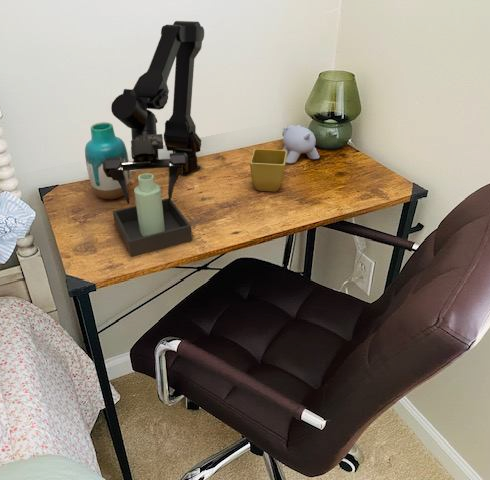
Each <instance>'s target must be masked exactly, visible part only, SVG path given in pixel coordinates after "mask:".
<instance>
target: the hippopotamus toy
mask: <svg viewBox="0 0 490 480" xmlns="http://www.w3.org/2000/svg"><path fill="white" fill-rule="evenodd" d="M281 135H282V137H283V138H282V142H283V145H284V146H283V147H282V150H287V156H286V164H295V163H296V162H297V161H298V159H299V158H300V156H301V154H305V155H306V157H308V159H309V160H318V159H320V154H319V152H318V150H317V148H316V147H315V146H316V142H317V140H316V136H315V134H314V132H312V131H311V130H310V129H308V128H307V127H304V126H302V125H301V124H298V125H294V124H289V125H287V126H284V127H282V133H281Z"/></svg>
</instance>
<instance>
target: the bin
mask: <svg viewBox="0 0 490 480" xmlns="http://www.w3.org/2000/svg"><path fill="white" fill-rule="evenodd" d="M162 207H163V216H164V226H165V231H163V232H160V233H156V234H152V235H148V236H142V235H141V233H140V229H139V222H138V215H137V208H136V205H133V206H129V207H125V208H120V209H115V210H112V215H113V220H114V226H115V228H116V230H117V232H118V234H119V236H120V238H121V240H122V242H123V244H124V246H125V247H126V249H127V252H128V253H129V255H130V258H132V257H137V256H141V255H144V254H148V253H151V252H155V251H159V250H162V249H167V248H171V247H174V246H178V245H183V244H185V243H189V242H192V241H193V234H192V225H191V224H190V223H189V222H188V220H187V218H186V217H185V216H184V215H183V213H182V212H181V210H180V209H179V208H178V206H177V205H176V204H175V202H173V200H172V199H171V200H170V201H169V197H167V198H164V199H163V198H162Z"/></svg>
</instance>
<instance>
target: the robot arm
mask: <svg viewBox="0 0 490 480" xmlns="http://www.w3.org/2000/svg"><path fill="white" fill-rule="evenodd" d="M204 39H205V29H204V26H202V25H201V23H200V21H195V20H194V21H190V20H189V21H187V20H185V21H184V20H175V21H174V22H173V23H172V24H165V25H163V26H162V27H161V30H160V38H159V41H158V43H157V46H156V48H155V51H154V54H153V56H152V59H151V61H150V64H149V66H148V69H147V71H146V72H144V73H143V74H141V75H140V76H139V77H138V79H137V81H136V83H134V87H133V88H132V89H131V88H124V89H123V92H122V93H121V94H119V95H118V96H116V97H115V98H114V100H113V101H112V102H111V107H110V110H111V113H112V115H113V116H114V117H115V118H116V119H117V120H119V122H121V123H122V124H123V125H125V126H126V127H127V128H129V129H131V130H130V131H131V140H130V153H131V155H130V156H131V159H132V161H129V162H122V160H121V157H116V158H105V159H104V161H103V170H104V172H105V174H106V176H107V177H112V179H113V180H117V181H118V182H119V184H120V186H121V188H122V191H123V193H124V195H123V196H124V199H125V201H126V203H127V204H128V205H130V193H129V190H128V188H127V182H126V177H125V175H124V171H127V170H130V171H138V170H140V171H141V170H153V169H166V168H168V186H167V187H168V188H167V189H168V190H167V198H169V201H170V200H172V198H173V197H172V196H173V194H174V189H175V186H176V183H177V181H178V179H179V176H188V175H190V174H192V173H195V172H196V171H199V170H200V169H201V168H202V167H201V165H198V156H197V153H199V152H201V148H202V139H201V138H200V136H199V135H198V134H197V132H196V130H197V128H196V123H195V121H194V120H193V118H192V115H191V113H192V98H193V85H194V84H193V83H194V70H195V69H194V68H195V59H196V58H197V56H198V55H199V53H200V51H201V50H202V47H203V41H204ZM174 63H175V69H174V70H175V71H174V87H173V101H172V102H173V103H172V114H171V115H170V117H169V119H168V120H166V121H164V132H163V133H159V134H158V133H157V132H158V131H157V124H158V119H157V117H156V114H155V113H154V112H153V111H152V110H157V111H159V110H163V109H164V108H165V106H166V105H167V103H168V100H169V94H170V93H169V92H170V90H169V86H168V84H167V83H168V79H169V77H170V74H171V71H172V68H173V66H174ZM164 144H165V145H164ZM164 146H165V148H166V151H168V152H169V151H170V152H171V153H169V158H160V159H159V157H160V156H159V150H164Z"/></svg>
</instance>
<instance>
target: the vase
mask: <svg viewBox="0 0 490 480" xmlns="http://www.w3.org/2000/svg"><path fill="white" fill-rule="evenodd" d="M90 134H91V139H90V140H89V141H88V142H87V143H86V144H85V147H84V157H85V164H86V170H87V175H88V178H89V183H90V187H91V188H92V190H93V192H94V193H95V194H96V195H97V196H98V197H99V198H101V199H105V200H116V199H120V198H121V197H123V196H124V193H123V191H122V188H121V186H120V184H119V182H118V181H117V180H113V179H112V177H107V176H106V174H105V172H104V170H103V161H104V159H105V158H116V157H121V160H122V162H130V159H129V155H128V149H127V147H126V144H125V142H124V141H123V139H121V137H118V136H116V134H115V130H114V126H113V124H112V123H110V122H105V121H103V122H96V123H93V124H92V125H91V126H90ZM124 175H125V177H126V182H127V188H128V191H129V190H130V187H131V179H132V178H131V170H127V171H124Z"/></svg>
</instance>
